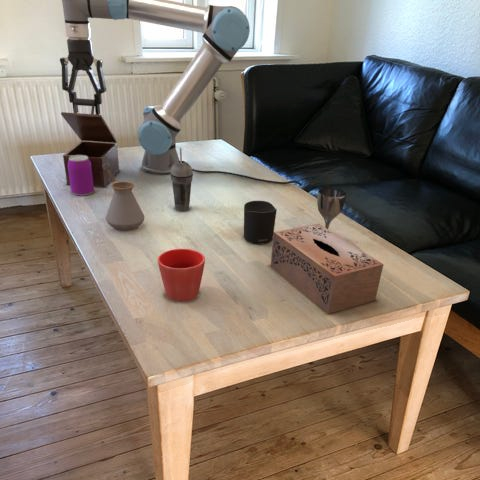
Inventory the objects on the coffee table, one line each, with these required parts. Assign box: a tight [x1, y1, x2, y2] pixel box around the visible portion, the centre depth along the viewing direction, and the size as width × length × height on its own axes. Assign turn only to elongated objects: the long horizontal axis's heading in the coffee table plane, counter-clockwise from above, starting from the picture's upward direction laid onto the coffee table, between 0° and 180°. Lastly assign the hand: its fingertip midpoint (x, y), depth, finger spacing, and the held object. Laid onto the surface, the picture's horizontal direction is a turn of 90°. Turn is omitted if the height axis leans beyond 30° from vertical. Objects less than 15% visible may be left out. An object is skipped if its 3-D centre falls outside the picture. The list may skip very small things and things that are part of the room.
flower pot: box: [157, 248, 206, 303], centre depth 121 cm, size 11×11×10 cm
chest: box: [62, 140, 120, 188], centre depth 187 cm, size 19×14×10 cm
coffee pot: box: [102, 163, 145, 232], centre depth 154 cm, size 21×12×15 cm, turn 30°
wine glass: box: [316, 186, 347, 230], centre depth 149 cm, size 8×8×15 cm
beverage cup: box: [169, 147, 194, 212], centre depth 164 cm, size 7×7×20 cm
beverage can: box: [68, 155, 95, 197], centre depth 174 cm, size 8×8×12 cm
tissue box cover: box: [270, 223, 384, 315], centre depth 129 cm, size 26×14×10 cm, turn 29°
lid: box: [60, 97, 118, 144], centre depth 182 cm, size 20×14×7 cm
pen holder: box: [243, 200, 278, 245], centre depth 150 cm, size 9×9×10 cm
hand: (87, 113), depth 178 cm, fingers closed on lid, 7 cm apart
